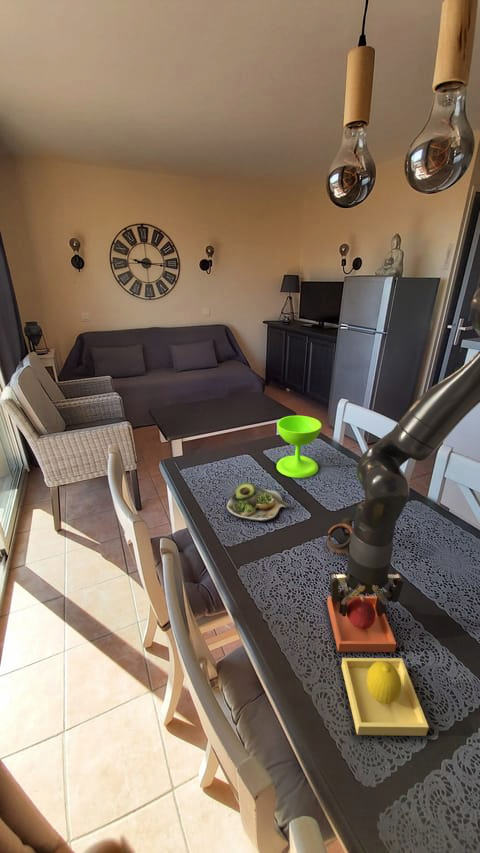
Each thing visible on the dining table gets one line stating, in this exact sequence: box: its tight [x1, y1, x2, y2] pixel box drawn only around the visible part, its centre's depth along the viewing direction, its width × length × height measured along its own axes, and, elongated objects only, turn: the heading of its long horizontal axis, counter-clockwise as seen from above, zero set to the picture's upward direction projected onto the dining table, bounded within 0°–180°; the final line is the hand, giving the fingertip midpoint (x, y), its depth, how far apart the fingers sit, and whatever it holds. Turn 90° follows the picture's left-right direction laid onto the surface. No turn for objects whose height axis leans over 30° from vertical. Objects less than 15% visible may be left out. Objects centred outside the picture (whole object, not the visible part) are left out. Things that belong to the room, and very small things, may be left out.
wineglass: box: [276, 415, 322, 479], centre depth 135 cm, size 16×16×18 cm
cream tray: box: [341, 657, 430, 737], centre depth 64 cm, size 11×11×2 cm
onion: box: [347, 595, 376, 629], centre depth 75 cm, size 6×6×8 cm
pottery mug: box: [326, 517, 354, 556], centre depth 98 cm, size 12×10×8 cm
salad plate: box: [225, 482, 290, 522], centre depth 116 cm, size 19×18×5 cm
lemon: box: [367, 661, 401, 704], centre depth 63 cm, size 6×6×8 cm
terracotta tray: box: [326, 595, 397, 653], centre depth 77 cm, size 11×11×2 cm
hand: (360, 612), depth 75 cm, fingers open, 7 cm apart
